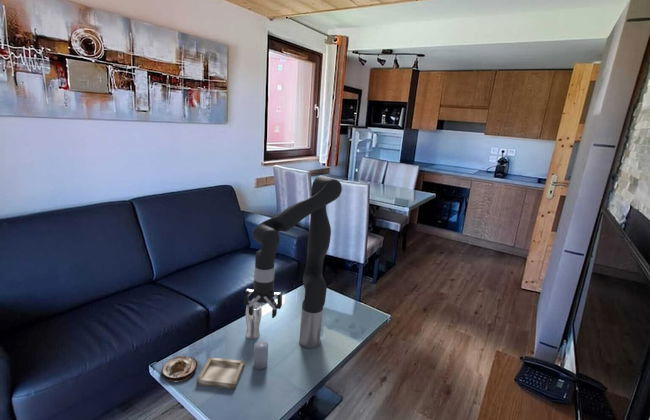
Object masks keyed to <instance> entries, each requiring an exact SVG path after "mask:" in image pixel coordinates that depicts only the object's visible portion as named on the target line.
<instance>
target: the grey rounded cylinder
mask: <svg viewBox="0 0 650 420" xmlns="http://www.w3.org/2000/svg"><path fill="white" fill-rule="evenodd" d="M268 356H269V343H268V342H267V341H265V340H259V341H257V342H255V343H254V347H253V368H254V369H255V370H258V371H259V370H264V369H266V368H267V366H268V362H269V361H268V360H269V359H268Z"/></svg>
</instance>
